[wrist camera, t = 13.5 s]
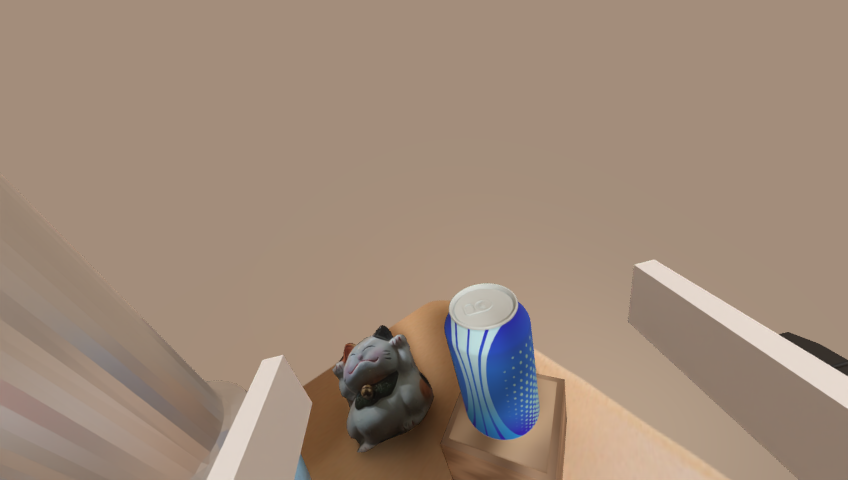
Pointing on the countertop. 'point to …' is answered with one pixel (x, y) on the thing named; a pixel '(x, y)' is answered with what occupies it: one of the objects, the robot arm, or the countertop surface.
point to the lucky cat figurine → (382, 388)
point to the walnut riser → (510, 442)
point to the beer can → (494, 360)
